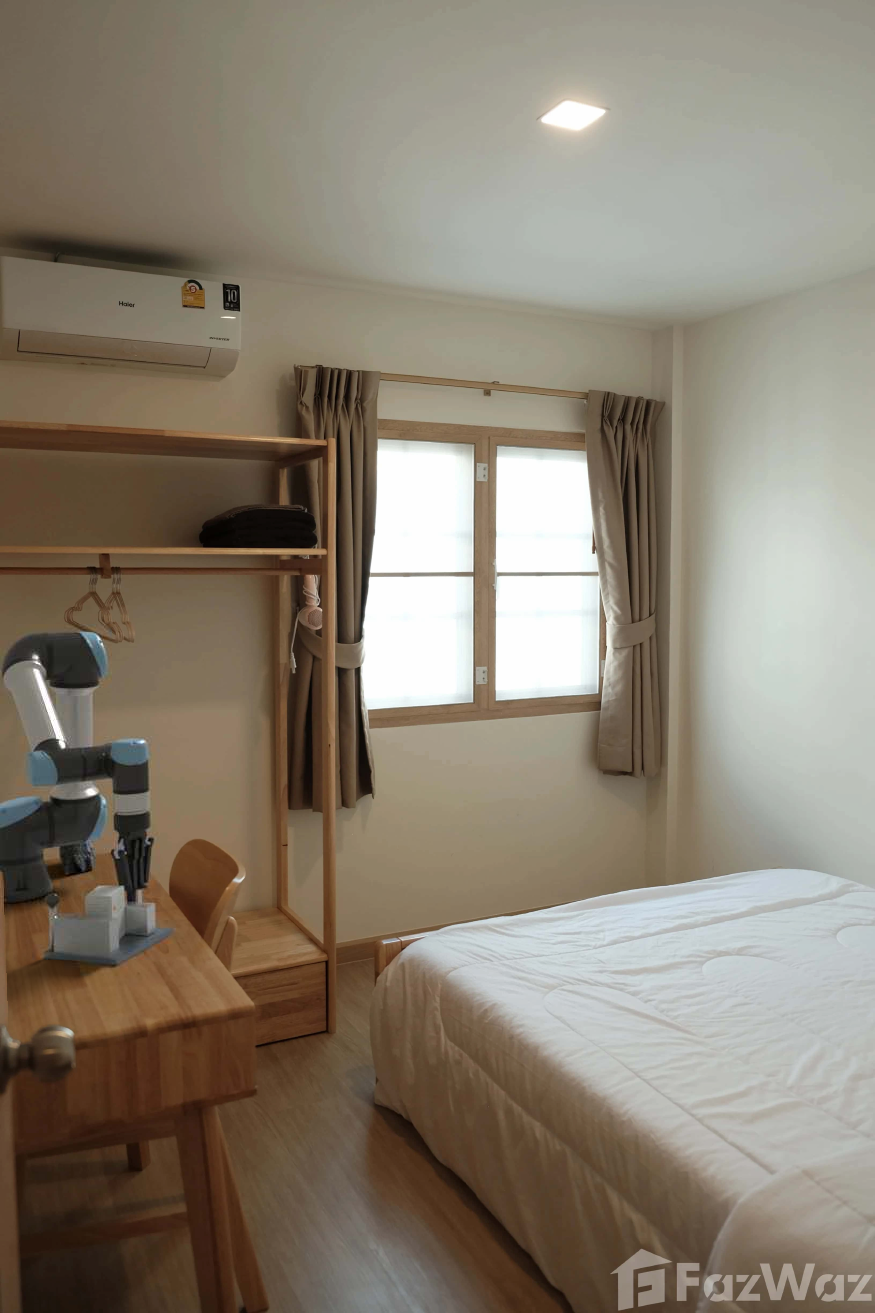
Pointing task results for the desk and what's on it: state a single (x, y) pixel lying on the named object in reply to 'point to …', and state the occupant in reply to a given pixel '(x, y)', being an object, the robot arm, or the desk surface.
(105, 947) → the vise
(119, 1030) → the desk surface
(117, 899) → the small box
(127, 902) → the jaw
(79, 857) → the stone block
